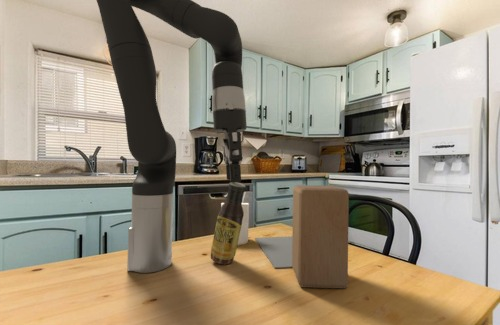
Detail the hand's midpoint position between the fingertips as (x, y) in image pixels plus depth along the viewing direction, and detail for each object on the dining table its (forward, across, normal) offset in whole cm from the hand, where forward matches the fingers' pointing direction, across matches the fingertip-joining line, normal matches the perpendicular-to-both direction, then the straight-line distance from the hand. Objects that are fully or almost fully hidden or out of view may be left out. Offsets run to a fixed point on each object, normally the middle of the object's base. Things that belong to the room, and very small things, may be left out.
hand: (233, 180), depth 56 cm
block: (+22, +6, +16) cm, 28 cm away
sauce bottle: (+20, -6, -3) cm, 21 cm away
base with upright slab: (+21, -23, +2) cm, 32 cm away
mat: (+22, -12, +17) cm, 30 cm away
